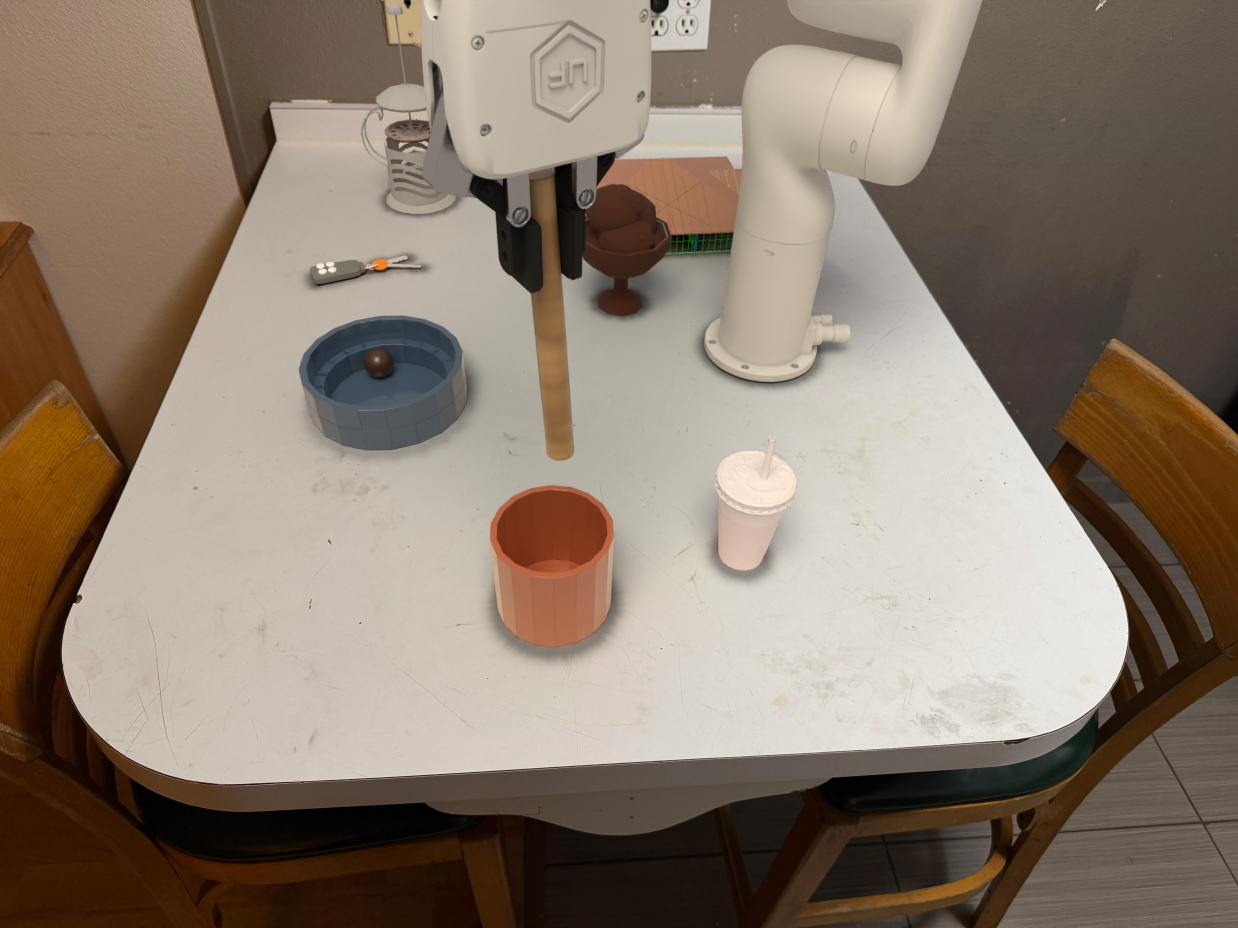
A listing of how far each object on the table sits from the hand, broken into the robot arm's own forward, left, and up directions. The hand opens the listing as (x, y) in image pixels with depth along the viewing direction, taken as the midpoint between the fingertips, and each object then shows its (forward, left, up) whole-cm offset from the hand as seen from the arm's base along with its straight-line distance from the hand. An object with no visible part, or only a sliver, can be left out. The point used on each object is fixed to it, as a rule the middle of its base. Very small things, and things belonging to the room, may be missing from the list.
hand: (543, 272), depth 45 cm
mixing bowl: (+16, -26, -30) cm, 43 cm away
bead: (+17, -29, -27) cm, 43 cm away
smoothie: (-16, -4, -30) cm, 35 cm away
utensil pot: (0, 0, -30) cm, 30 cm away
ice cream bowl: (-9, -44, -30) cm, 54 cm away
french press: (+18, -72, -30) cm, 80 cm away
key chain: (+22, -52, -30) cm, 64 cm away
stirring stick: (-1, +1, -12) cm, 13 cm away
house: (-15, -66, -30) cm, 74 cm away
